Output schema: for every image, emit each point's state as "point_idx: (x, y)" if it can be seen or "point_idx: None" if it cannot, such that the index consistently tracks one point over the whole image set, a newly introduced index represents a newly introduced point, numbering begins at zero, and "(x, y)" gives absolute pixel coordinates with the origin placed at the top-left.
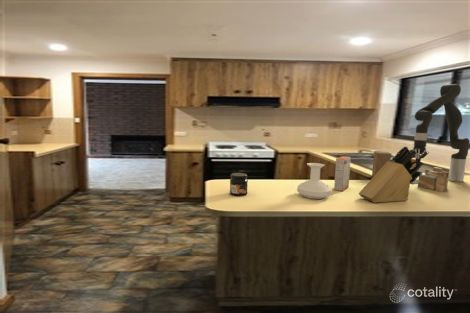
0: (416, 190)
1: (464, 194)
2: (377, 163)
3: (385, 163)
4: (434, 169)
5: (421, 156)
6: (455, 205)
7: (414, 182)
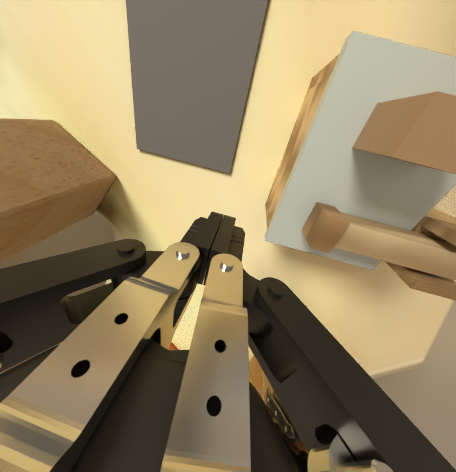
0: (284, 274)
1: None
2: (17, 251)
3: (23, 228)
4: (396, 158)
5: (263, 348)
6: (405, 342)
7: (222, 136)
